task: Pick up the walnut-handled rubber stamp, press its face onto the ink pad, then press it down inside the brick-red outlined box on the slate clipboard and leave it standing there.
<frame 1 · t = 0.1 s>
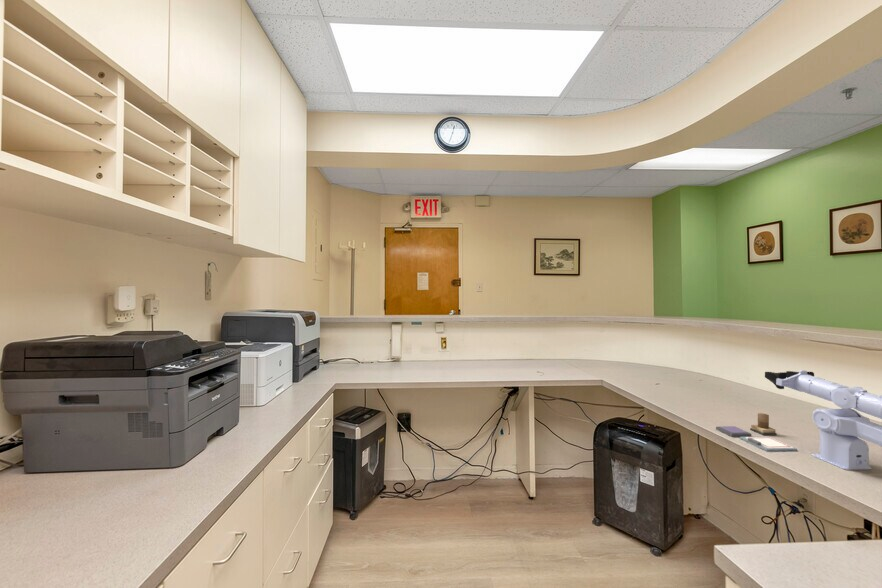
hand: (776, 374, 128), 21 cm above the countertop, tool horizontal, fingers open, 7 cm apart
stamp: (763, 432, 131), on the countertop
clipboard: (767, 444, 121), on the countertop
ink pad: (733, 432, 131), on the countertop
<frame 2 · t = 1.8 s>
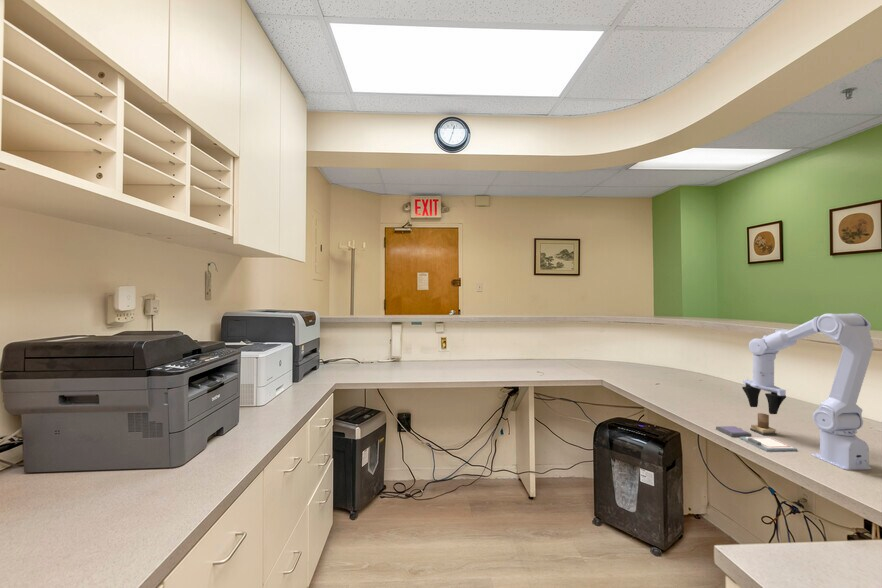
hand: (763, 410, 131), 8 cm above the countertop, tool pointing down, fingers open, 7 cm apart
nothing on the countertop moved.
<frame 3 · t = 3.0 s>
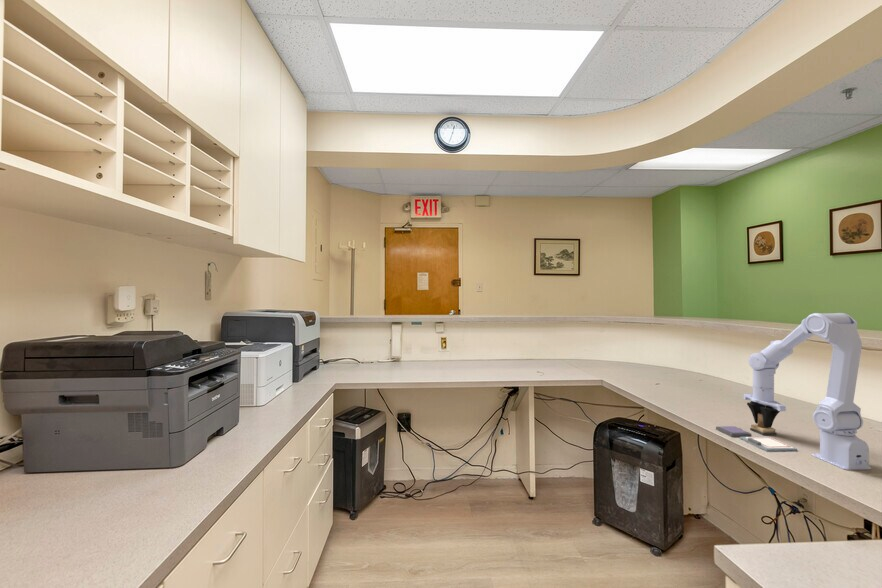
hand: (763, 425, 131), 3 cm above the countertop, tool pointing down, fingers closed on stamp, 3 cm apart
stamp: (763, 432, 131), on the countertop, touching gripper
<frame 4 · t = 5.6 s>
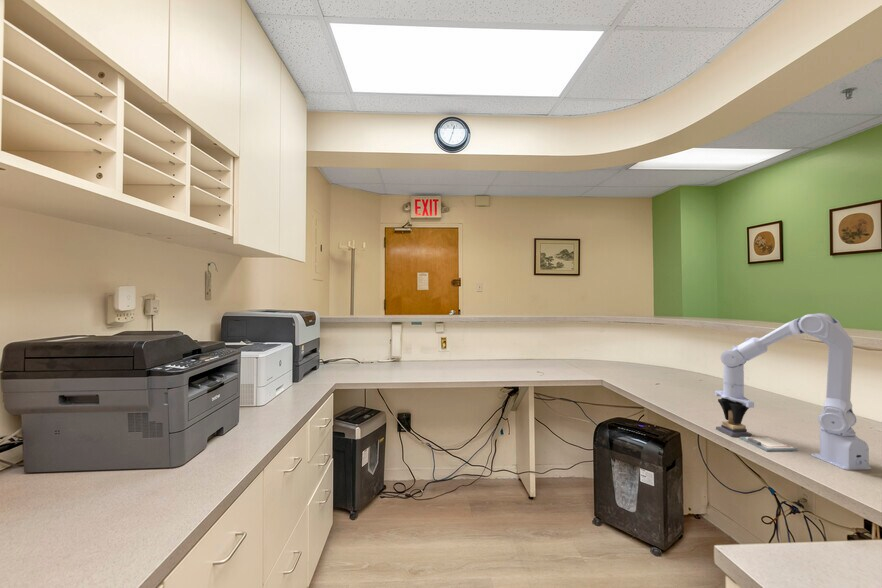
hand: (733, 421, 131), 4 cm above the countertop, tool pointing down, fingers closed on stamp, 3 cm apart
stamp: (733, 429, 131), point 1 cm above the countertop, touching gripper
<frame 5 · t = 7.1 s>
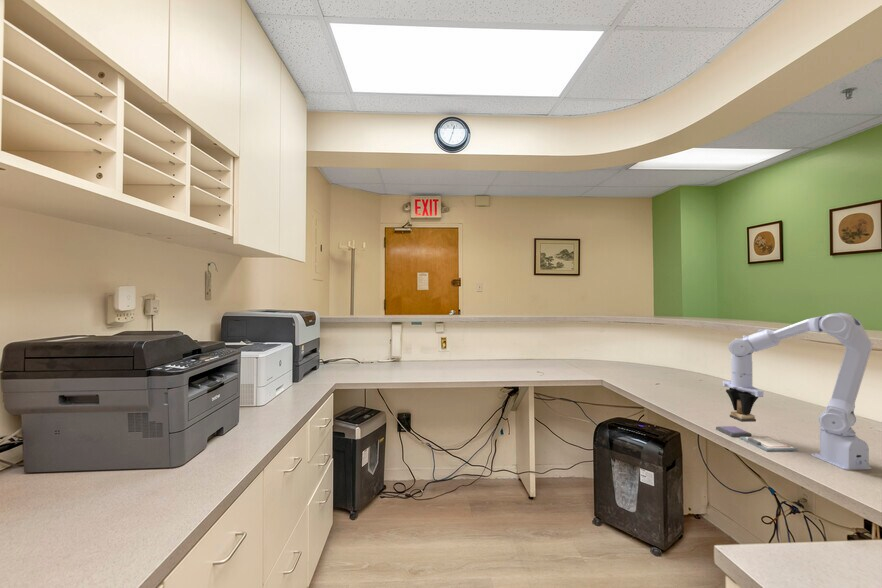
hand: (741, 412, 128), 8 cm above the countertop, tool pointing down, fingers closed on stamp, 3 cm apart
stamp: (742, 419, 128), point 6 cm above the countertop, touching gripper
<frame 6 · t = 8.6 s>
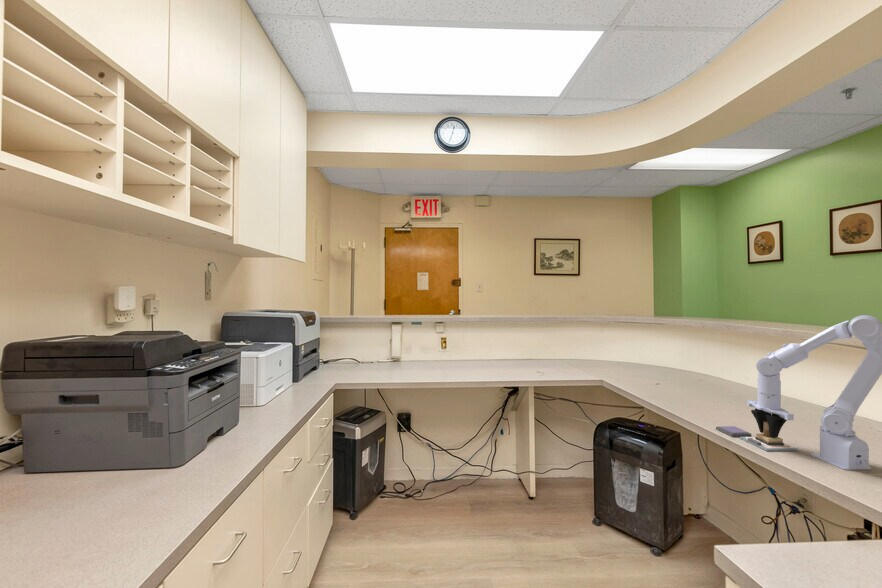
hand: (768, 434, 121), 3 cm above the countertop, tool pointing down, fingers closed on stamp, 3 cm apart
stamp: (769, 442, 121), point 1 cm above the countertop, touching clipboard, gripper
when the fingers open (3 cm above the countertop, at t = 8.8 s): stamp stays where it is, resting on clipboard.
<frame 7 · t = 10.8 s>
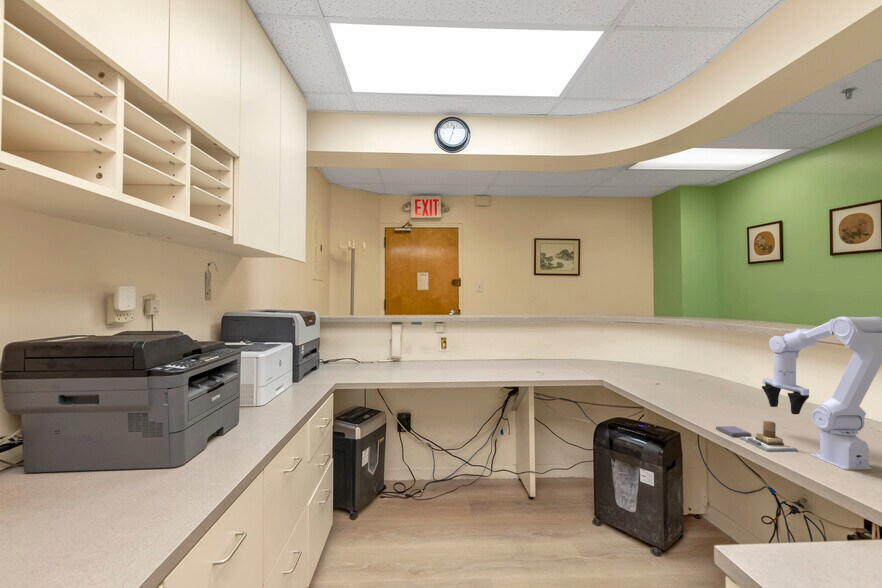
hand: (784, 410, 127), 9 cm above the countertop, tool pointing down, fingers open, 7 cm apart
stamp: (769, 442, 121), point 1 cm above the countertop, touching clipboard
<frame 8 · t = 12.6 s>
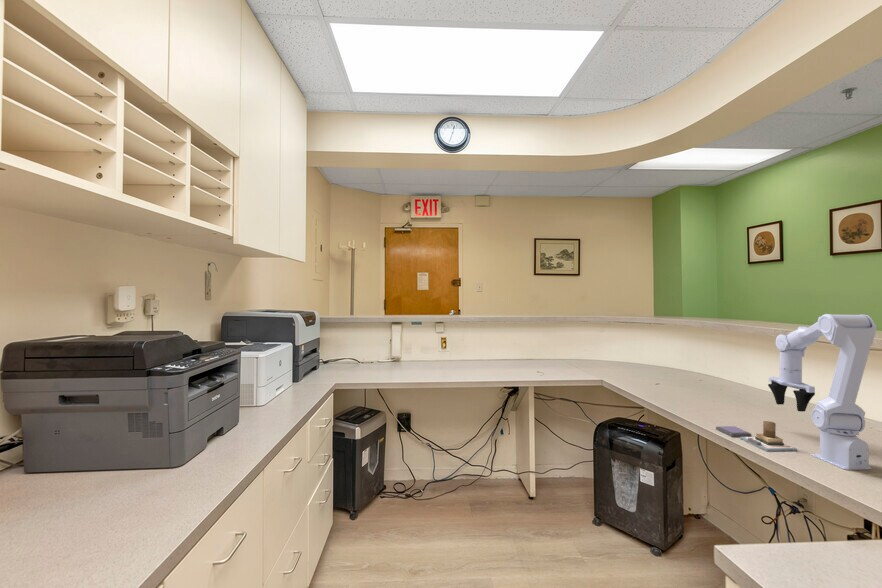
hand: (790, 407, 129), 9 cm above the countertop, tool pointing down, fingers open, 7 cm apart
nothing on the countertop moved.
at the end: stamp 0.2 cm off-centre on the clipboard, point 0.7 cm above the clipboard's base; stamp tilted 0°; the gripper is holding nothing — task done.
